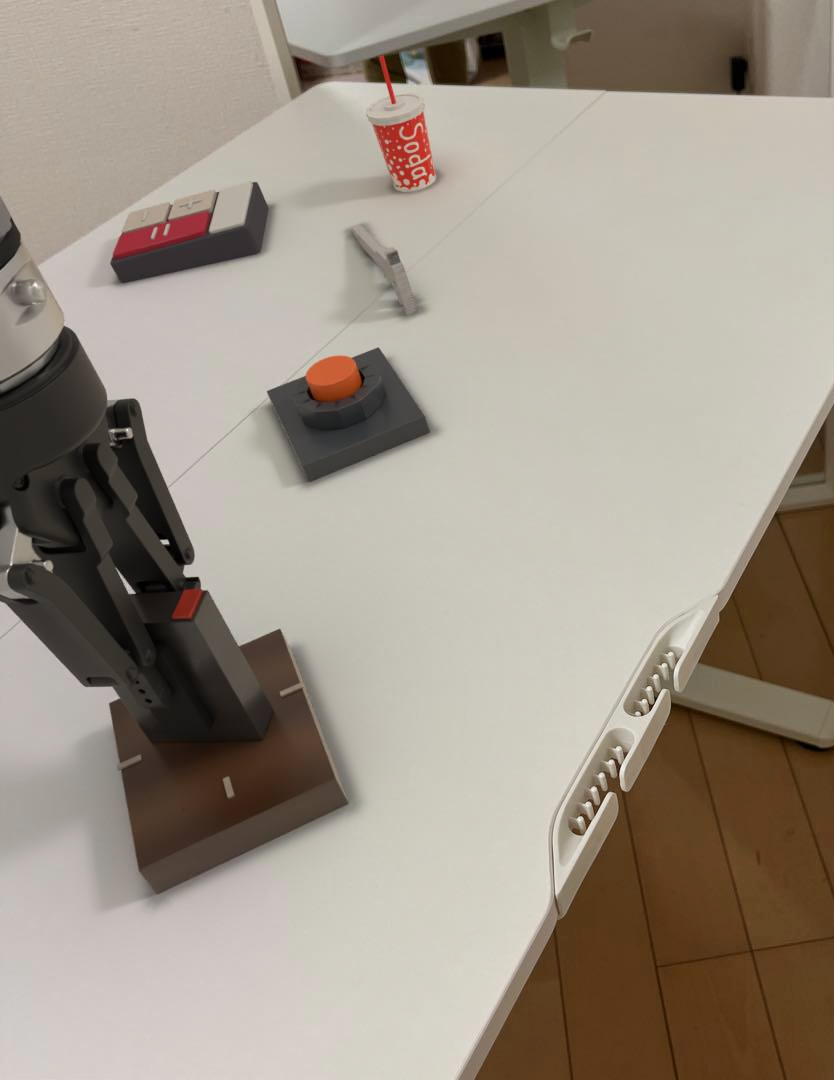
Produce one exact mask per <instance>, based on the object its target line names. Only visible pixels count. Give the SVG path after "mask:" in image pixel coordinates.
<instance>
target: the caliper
mask: <svg viewBox="0 0 834 1080" xmlns="http://www.w3.org/2000/svg"><path fill="white" fill-rule="evenodd" d="M351 232H352V234H353V236H354V237H355V239H356V240H357V242H358V244H360V247H361V248H362V249H363V250H364V252H365V253H367V255H368V256H369V257H370V258H371V259H372V260H373V261H374V262H375V263H376V264H377V265H378V267H380V268H381V270H382V273H383V276H384V278H386V279H387V281H390V282H391V284H392V288H393V290H394V292H395V295H396V297H397V300H398V302H399V305H400V306H401V307H402V308H404V309H403V310H404V312H405V314H406V315H407V316H411V315H413V314H416V313H418V308H417V304H416V301H415V298H414V294H413V291H412V288H411V284H410V281H409V278H408V275H407V272H406V270H405V267H404V264H403V262H402V261H401V258H400V255H399V252H398V250H397V248H395V246H391V247H389V248H388V247H387V246H383V245H382V244H381V243H380V242H379V241H378V240H377V239H376V238H375V237H374V236H373V235H372V234H371V233H370V232H369V231H368V230H367V229H366V228H365V227H364V226H362V224H358V225H355V226H353V227H351Z"/></svg>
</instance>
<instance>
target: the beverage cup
mask: <svg viewBox="0 0 834 1080" xmlns="http://www.w3.org/2000/svg"><path fill="white" fill-rule="evenodd" d="M378 59H379V63H380V67H381V70H382V74H383V77H384V80H385V81H384V82H385V85H386V88H387V91H388V95H387V96H385V97H382V98H379V99H378V100H376V101H374V102H372V103H371V104H370V105H369V106H368V107H367V108H366V111H365V116H366V117H367V121H368V122H369V123H370V124H371V126H372V128H373V132H374V134H375V137H376V139H377V143H378V146H379V148H380V151H381V153H382V157H383V160H384V162H385V166H386V168H387V171H388V174H389V177H390V180H391V182H392V185H393V188H394V190H396V191H399V192H402V193H410V192H416V191H420V190H422V189H426V188H428V187H429V186H431V185H432V184H433V183H434V182H435V181H436V179H437V178H436V177H437V175H436V170H435V165H434V159H433V153H432V149H431V143H430V138H429V132H428V127H427V123H426V116H425V112H424V110H425V107H426V106H425V103H424V102H425V101H424V100H425V99H424V97H423V96H422V95H421V94H419V93H414V92H403V93H397V94H395V93H394V90H393V89H394V88H393V86H392V82H391V79H390V74H389V71H388V67H387V64H386V60H385V56H384V54H380V55H378Z"/></svg>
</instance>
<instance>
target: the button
mask: <svg viewBox="0 0 834 1080" xmlns="http://www.w3.org/2000/svg"><path fill="white" fill-rule="evenodd" d="M305 376H306V380H307V383H308V385H309V388H310V390H311V393H312V396H313V398H314V399H315V400H316V401H318V402H321V403H323V402H334V401H339V400H341V399H344V398H346V397H349V396H351V395H352V394H353V393H355V392H356V391H357V390H358V389H359V388H360V387H361V385H362V380H361V377H360V374H359V371H358V368H357V366H356V363H355V361H354V360H353V359H352V357H350V356H348V355H332V356H328V357H325V358H322V359H319V360H318V361H317V362H314V364H312V365H311V366H310V367H309V368H308V370H307V371H306V373H305Z"/></svg>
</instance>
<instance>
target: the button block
mask: <svg viewBox="0 0 834 1080" xmlns="http://www.w3.org/2000/svg"><path fill="white" fill-rule="evenodd" d="M351 358H352V359H353V360H354V361H355V363H356V366H357V368H358V371H359V374H360V377H361V380H362V385H361V387H360V388H359V389H358V390H357V391H356V392H355V393H353V394H352V395H351V396H349V397H346V398H344V399H341V400H339V401H334V402H323V403H321V402H318V401H316V400H315V399H314V398H313V396H312V393H311V390H310V388H309V385H308V383H307V380H306V375H304V376H300V377H298V378H296V379H294V380H291V381H288V382H286V383H283V384H281V385H278V386H276V387H273V388H271V389H268V390H266V393H267V396H268V399H269V401H270V403H271V405H272V408H273V410H274V412H275V414H276V416H277V418H278V421H279V423H280V424H281V427H282V429H283V431H284V433H285V435H286V438H287V440H288V442H289V444H290V446H291V448H292V450H293V452H294V454H295V457H296V458H297V461H298V463H299V465H300V467H301V469H302V471H303V473H304V475H305V477H306V480H307V482H308V483H311V482H314V481H316V480H319V479H322V478H323V477H326V476H329V475H331V474H333V473H335V472H338V471H341V470H344V469H345V468H348V467H350V466H352V465H355V464H357V463H360V462H362V461H366V460H367V459H370V458H373V457H375V456H377V455H379V454H381V453H384V452H386V451H390V450H391V449H394V448H397V447H399V446H401V445H404V444H406V443H409V442H411V441H414V440H416V439H419V438H421V437H423V436H425V435H428V434H430V433H431V430H430V427H429V424H428V420H427V418H426V416H425V413H424V412H423V410H422V409H421V408H420V406H419V405H418V403H417V402H416V401H415V399H414V398H413V396H412V394H411V393H410V391H409V390H408V389H407V387H406V386H405V383H403V381H402V379H401V378H400V377H399V375H398V373H397V372H396V371H395V369H394V367H393V366H392V364H391V363H390V362H389V360H388V359H387V357H386V355H385V354H384V353H383V351H382V350H381V348H380V347H375V348H373V349H370V350H367V351H365V352H362V353H360V354H357V355H355V356H352V357H351Z"/></svg>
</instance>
